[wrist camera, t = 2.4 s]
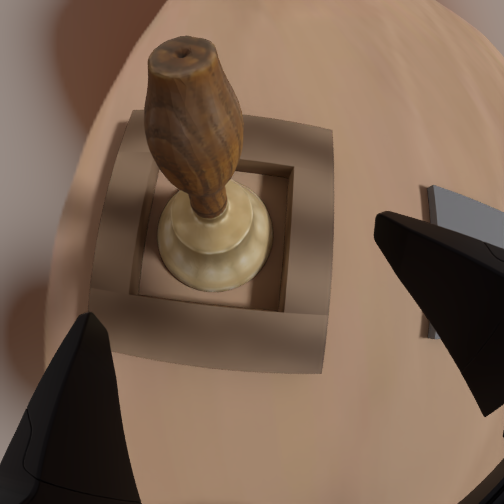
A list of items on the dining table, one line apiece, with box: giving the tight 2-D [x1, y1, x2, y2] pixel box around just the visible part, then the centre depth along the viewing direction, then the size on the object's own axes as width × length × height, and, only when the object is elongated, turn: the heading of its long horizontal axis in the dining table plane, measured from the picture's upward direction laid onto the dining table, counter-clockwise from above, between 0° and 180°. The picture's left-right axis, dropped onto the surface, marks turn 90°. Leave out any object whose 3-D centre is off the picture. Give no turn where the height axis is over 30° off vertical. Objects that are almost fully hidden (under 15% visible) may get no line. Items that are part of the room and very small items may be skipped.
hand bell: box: [144, 36, 273, 292], centre depth 12 cm, size 8×8×16 cm
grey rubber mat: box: [427, 185, 504, 339], centre depth 21 cm, size 14×14×1 cm
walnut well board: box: [88, 110, 334, 374], centre depth 18 cm, size 18×16×2 cm
